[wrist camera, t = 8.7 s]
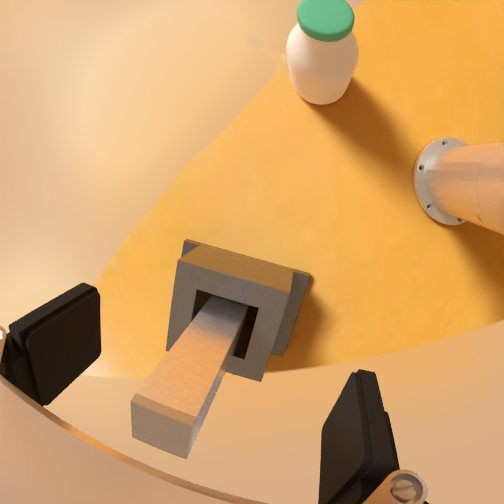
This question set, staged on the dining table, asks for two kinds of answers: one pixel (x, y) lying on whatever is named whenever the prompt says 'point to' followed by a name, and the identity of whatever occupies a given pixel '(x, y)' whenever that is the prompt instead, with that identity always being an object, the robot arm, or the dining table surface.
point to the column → (188, 378)
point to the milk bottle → (322, 50)
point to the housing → (241, 290)
